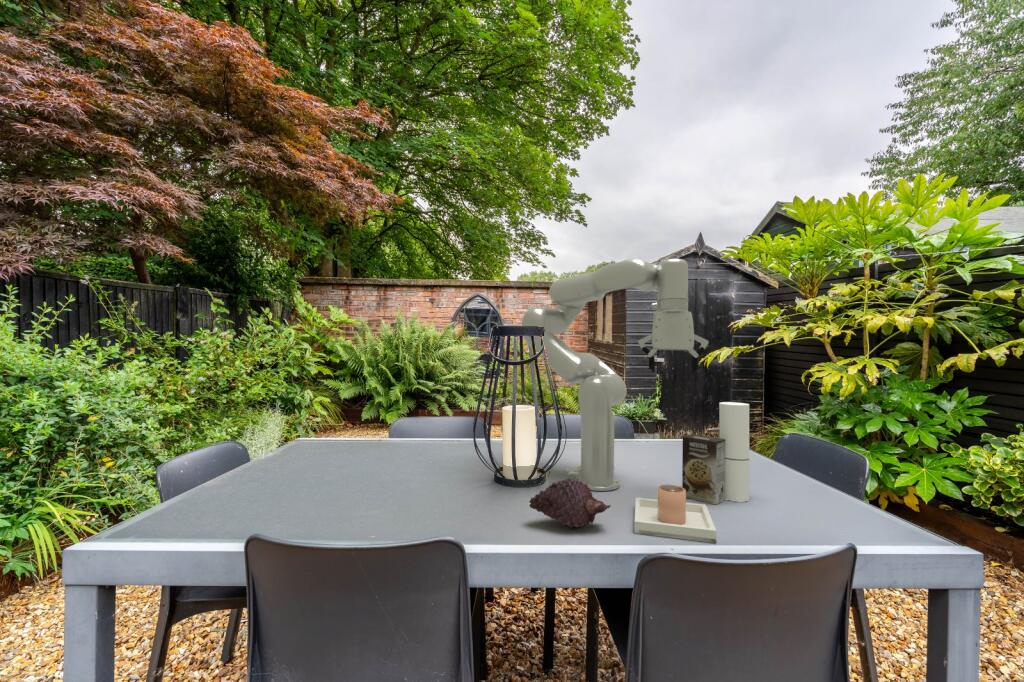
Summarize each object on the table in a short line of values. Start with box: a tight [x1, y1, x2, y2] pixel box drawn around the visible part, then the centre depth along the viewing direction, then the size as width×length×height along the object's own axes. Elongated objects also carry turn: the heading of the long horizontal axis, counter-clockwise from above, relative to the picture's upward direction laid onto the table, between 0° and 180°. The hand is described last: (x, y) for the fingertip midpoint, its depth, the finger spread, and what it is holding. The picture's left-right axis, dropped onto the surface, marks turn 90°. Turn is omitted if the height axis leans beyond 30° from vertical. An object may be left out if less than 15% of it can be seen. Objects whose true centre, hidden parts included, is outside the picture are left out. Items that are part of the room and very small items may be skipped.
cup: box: [657, 484, 687, 525], centre depth 99 cm, size 6×6×7 cm
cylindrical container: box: [718, 401, 751, 503], centre depth 118 cm, size 7×7×25 cm
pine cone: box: [529, 478, 612, 528], centre depth 98 cm, size 18×10×10 cm, turn 83°
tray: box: [634, 497, 717, 544], centre depth 99 cm, size 16×16×2 cm
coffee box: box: [681, 433, 725, 506], centre depth 117 cm, size 9×6×16 cm
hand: (672, 372), depth 115 cm, fingers open, 9 cm apart
